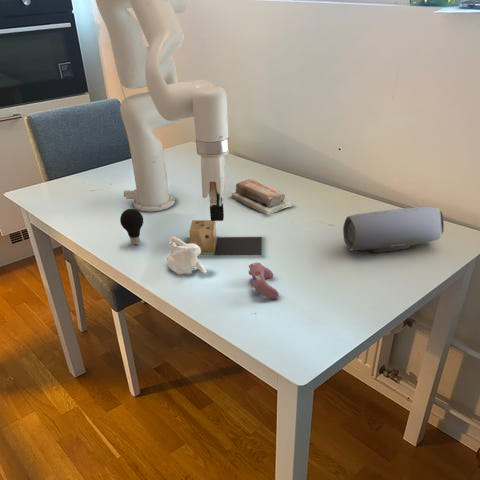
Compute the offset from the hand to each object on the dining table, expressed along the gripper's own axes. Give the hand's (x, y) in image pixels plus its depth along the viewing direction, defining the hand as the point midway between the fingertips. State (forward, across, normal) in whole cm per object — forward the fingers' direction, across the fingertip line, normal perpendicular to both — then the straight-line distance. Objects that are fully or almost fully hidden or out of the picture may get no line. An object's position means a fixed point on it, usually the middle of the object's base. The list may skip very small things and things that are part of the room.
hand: (217, 219), depth 126 cm
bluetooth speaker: (+8, 0, +44) cm, 44 cm away
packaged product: (+8, -29, +10) cm, 32 cm away
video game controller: (+8, +20, +12) cm, 25 cm away
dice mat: (+8, 0, +1) cm, 8 cm away
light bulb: (+8, -2, -22) cm, 24 cm away
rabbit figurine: (+8, +12, -8) cm, 17 cm away
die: (+4, 0, -1) cm, 5 cm away
